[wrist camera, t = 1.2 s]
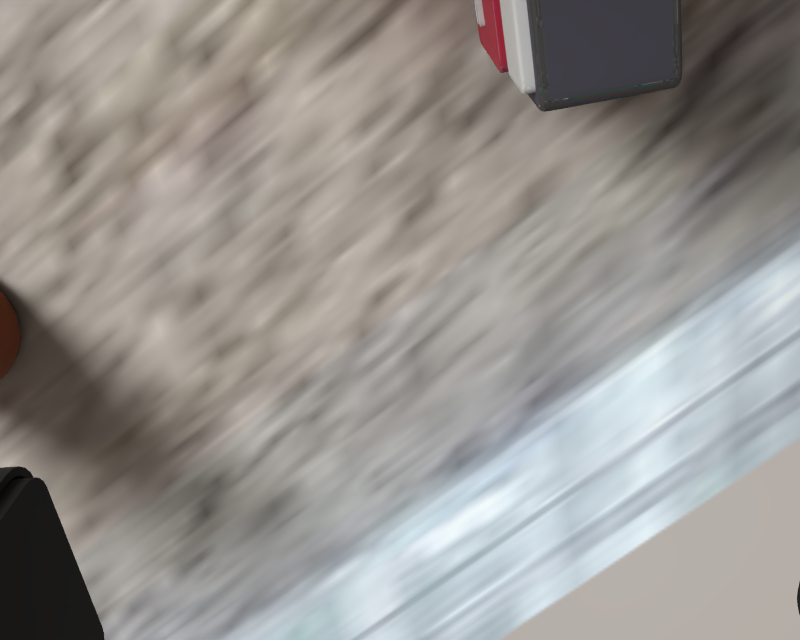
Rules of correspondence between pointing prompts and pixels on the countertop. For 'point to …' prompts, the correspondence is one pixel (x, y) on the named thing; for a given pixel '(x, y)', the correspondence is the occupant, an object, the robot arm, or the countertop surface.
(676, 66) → the tall charcoal block
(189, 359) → the countertop surface
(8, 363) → the bottle
